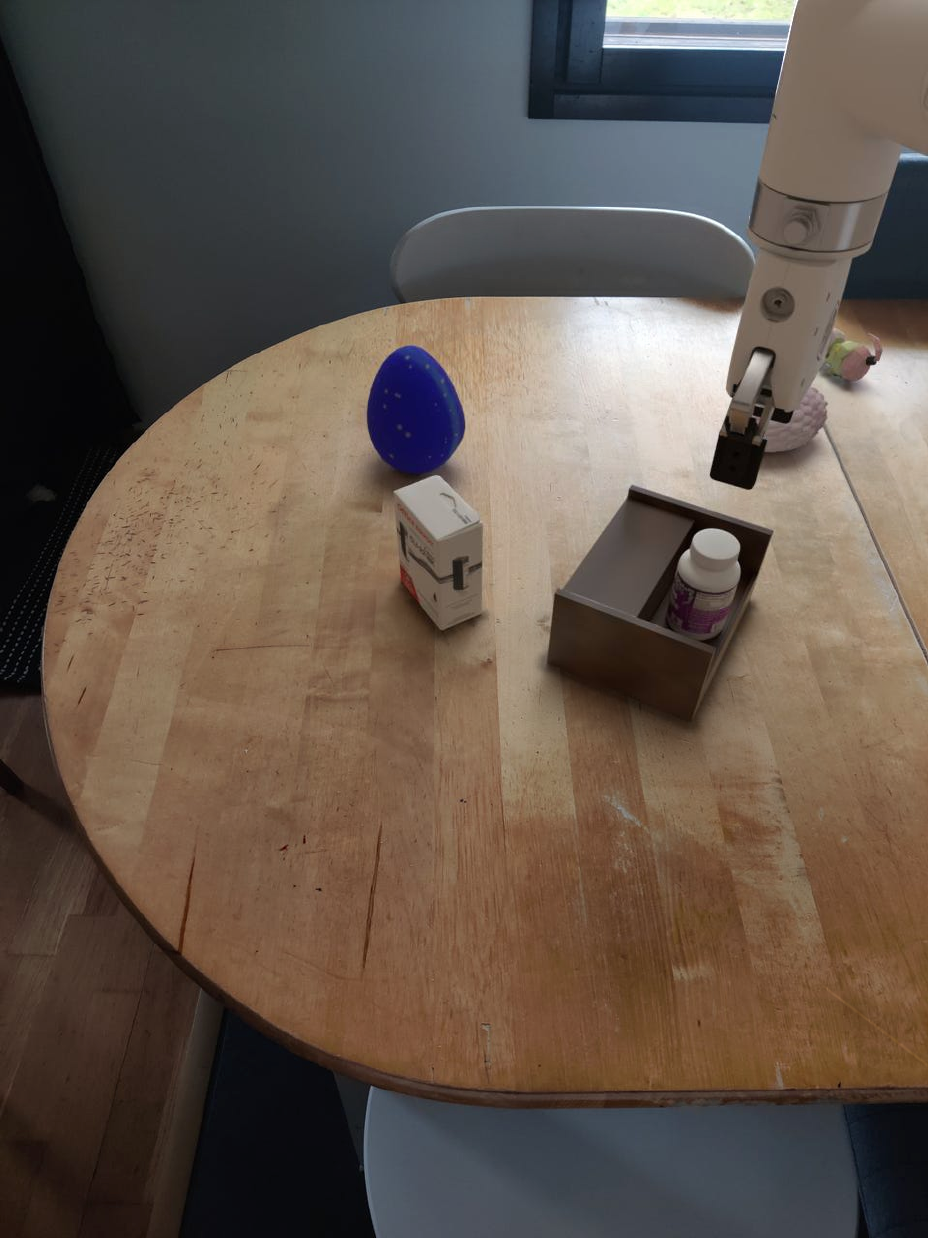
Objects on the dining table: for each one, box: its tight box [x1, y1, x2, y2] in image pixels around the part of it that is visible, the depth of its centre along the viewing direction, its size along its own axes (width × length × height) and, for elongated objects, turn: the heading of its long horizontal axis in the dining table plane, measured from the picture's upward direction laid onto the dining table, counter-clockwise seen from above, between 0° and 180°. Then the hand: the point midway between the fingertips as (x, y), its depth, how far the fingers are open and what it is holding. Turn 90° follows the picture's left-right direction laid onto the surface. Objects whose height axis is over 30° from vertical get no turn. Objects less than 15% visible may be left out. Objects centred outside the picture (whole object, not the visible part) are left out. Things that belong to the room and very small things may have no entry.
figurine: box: [824, 327, 884, 383], centre depth 115 cm, size 9×7×15 cm
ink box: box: [393, 475, 484, 631], centre depth 81 cm, size 8×5×12 cm, turn 31°
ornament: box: [366, 344, 466, 475], centre depth 96 cm, size 11×9×15 cm
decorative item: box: [752, 385, 829, 453], centre depth 102 cm, size 9×11×10 cm
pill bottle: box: [666, 529, 741, 640], centre depth 76 cm, size 5×5×10 cm
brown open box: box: [546, 484, 774, 723], centre depth 79 cm, size 14×18×9 cm
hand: (751, 448), depth 65 cm, fingers open, 9 cm apart
